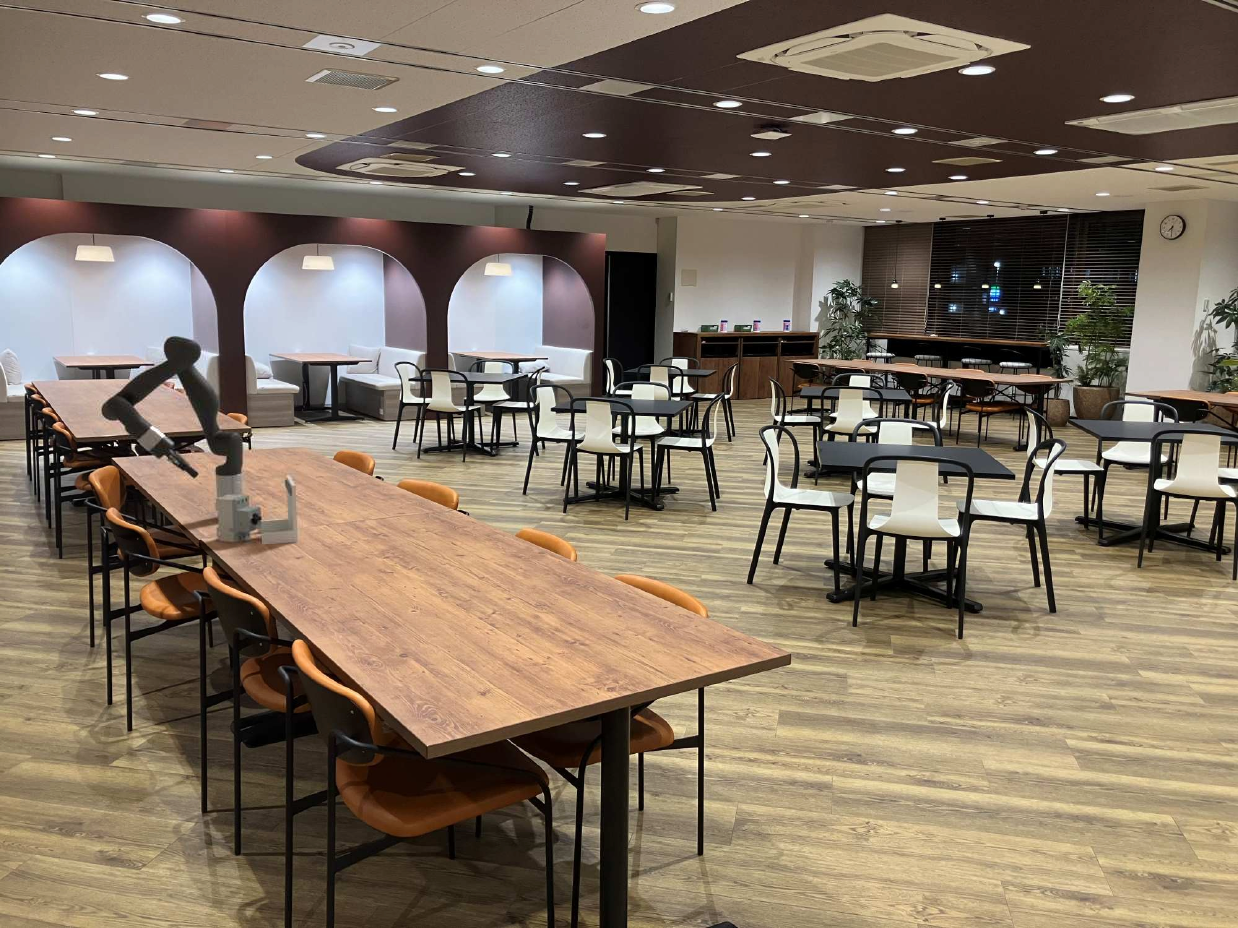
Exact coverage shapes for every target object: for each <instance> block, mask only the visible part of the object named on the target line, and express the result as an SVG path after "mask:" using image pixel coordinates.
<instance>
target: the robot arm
mask: <svg viewBox="0 0 1238 928" xmlns="http://www.w3.org/2000/svg"><path fill="white" fill-rule="evenodd" d="M163 352H164V357H165V358H166V361H164V362H161V363H160V364H158V365H156V366H154V367H151V368H149V369H147V370H145V371H142V372H141V373H139V374H137V375H136V376H134V377H133V378H132V379H131V380H130V381H128V383H127V384H125V386H123V388H122V389H121V390H119V391H118V392H117V393H115V395H113V396H112V397H109V399H107V400H106V401H105V402H104V403H103V404H102V406H101V411H100V412H101V415H102V417H103V418H104V419H106V420H108V421H110V422H111V421H113V422H114V421H119V422H120V423H121V424H122V425H123V426H124V430H125V431H126V433H127V435H129V436H131V437H132V438H133V439H134V440H136V441H137V442H138V443H139V445H140V446H141V447H143V448H144V449H145V450H146V451H148V452H149V453H150V454H151V455H153V456H154V457H155V458H156V459H157V460H160V459H161V458H163V457H164V456H165V457H166V458H167V461H168V462H169V463H170V464H172V465H173V466H175V467H176V468H178V469H180V470H181V471H182V472H186V473H187V474H188V475H189V476H190V477H191V478H193V479H195V478H197V477H198V476H199V471H197V470H196V469H195V468H193V467H192V466H191V465H190V463H189V462H188V461H187V460H186V458H184V457H183V456H182V455H181V454H180V452H179V451H177V450H175V451H174V450H173V449H172V448H173V447H174V446H175V442H174V441H173V440H172V439H170V438H169V437H168V436H167V435H166V434H164V432H162V431H161V430H160V429H158V428H157V427H155V426H154V425H152V424H151V423H150V422H149V421H148V420H146V419H145V418H144V417H143V416H142V415H141V414H140V412H139V411H138V410H137V409H136V408H135V406H136V405H138V404H139V403H140V402H142V401H143V400H144V399H145V398H146V397H148V396H149V395H150V394H152V393H153V391H155V390H156V389H157V388H159V387H160V386H161V385H163V384H164V383H165V382H167V381H168V380H170V379H172V378H173V377H174V376H177V378H178V379H179V381H180V385H181V387H182V388H183V390H184V392H185V394H186V396H187V398H188V401H189V404H190V405H191V407H192V410H193V411H194V413H195V415H196V417H197V419H198V422H199V424H200V426H201V429H202V431H203V433H204V437H205V439H206V443H207V445H208V447H209V450H210V452H211V453H212V454H213V455H215V456H219V457H225V463H223V464H219V465H217V466H216V467H215V470H214V471H215V486H216V487H215V489H216V490H215V491H216V498H219V497H223V496H225V495H228V494H229V495H244V494H243V493H244V492H243V477H242V476H243V475H242V471H243V470H242V468H243V464H244V459H243V458H244V442H243V438H242V436H241V434H240V433H238V432H234V431H223V430H221V428H220V427H219V424H218V422H217V421H218V420H217V417H218V414H219V408H220V402H219V401H220V400H219V398H218V396H217V394H216V392H215V389H214V387H213V386H212V385H211V383H210V382H209V381H208V380H207V379H206V378H205V376H203V374H202V373H201V372H200V371H199V370H198V369H197V368H196V366H195V363H196V362H198V361H199V359H200V357H201V355H202V347H201V345H200V344H199V342H197V341H195V340H194V339H190V338H186V337H182V336H174V335H173V336H170V337H168V338H166V340H165V341H164V344H163ZM218 508H219V507H217V509H218Z"/></svg>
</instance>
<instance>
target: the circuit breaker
mask: <svg viewBox="0 0 1238 928" xmlns="http://www.w3.org/2000/svg"><path fill="white" fill-rule="evenodd" d="M249 500H250V498H249V495H246V494H245V495H244V494H243V495H229V494H228V495H225V496H223V497H219V498H217V497H216V498H215V503H214V504H215V505H214V506H215V507H214V509H215V511H217V519H218V527H216V537H217V539H216V541H217V540H221V541H220V542H228V543H229V542H231V543H239V542H241V541H244V540H247V539H249V538H251V532H253V531H255V530H258V529H259V528H261V521H262V520H263V519H262V512H261V506H255V505H250V501H249ZM217 507H219V508H218V509H217Z"/></svg>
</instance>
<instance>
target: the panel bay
mask: <svg viewBox="0 0 1238 928" xmlns="http://www.w3.org/2000/svg"><path fill="white" fill-rule="evenodd" d="M285 478H286V479H284V487H285V489H286V499H287V500H286V501H287V502H286V503H287V504H286V505H287V507H286V508H287V518H280V519H279V518H278V519H267V520H265V519H262V520H261V528H259V529H257V532H258V533H261V545H273V544H275V545H276V544H284V543H285V544H286V543H298V542H299V541H298V539H299V538H298V516H297V515H298V514H297V513H298V511H297V510H298V509H297V493H296V492H297V490H296V483H295V482H294V480H293V478H292V477H291V476H290V475H285Z"/></svg>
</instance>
